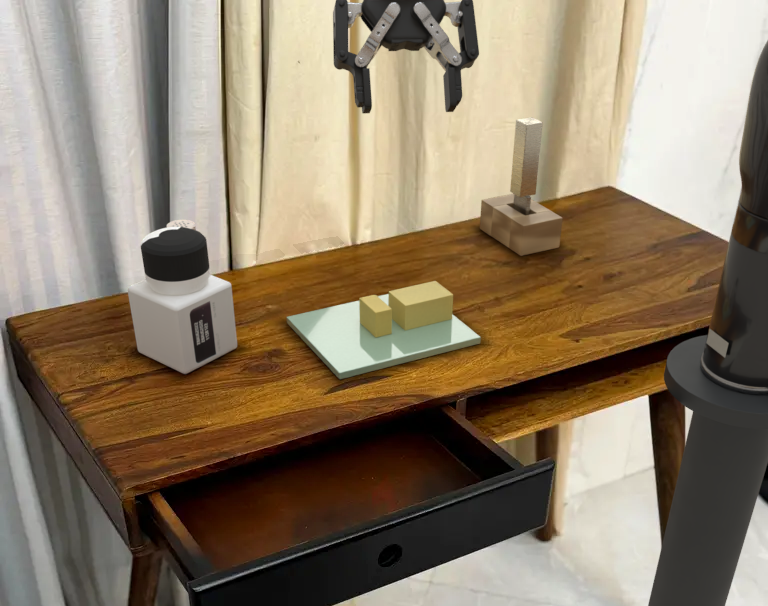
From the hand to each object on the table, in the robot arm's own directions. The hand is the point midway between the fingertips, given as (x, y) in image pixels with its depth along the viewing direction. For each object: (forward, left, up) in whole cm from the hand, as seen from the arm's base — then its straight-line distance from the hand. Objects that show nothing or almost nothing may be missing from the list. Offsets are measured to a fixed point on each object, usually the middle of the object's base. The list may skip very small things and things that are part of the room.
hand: (409, 110), depth 98 cm
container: (+14, +20, -23) cm, 34 cm away
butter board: (0, +4, -23) cm, 23 cm away
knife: (+2, -28, -23) cm, 36 cm away
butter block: (-2, 0, -22) cm, 22 cm away
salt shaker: (+22, +12, -23) cm, 34 cm away
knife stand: (+2, -28, -23) cm, 36 cm away
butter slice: (0, +5, -22) cm, 23 cm away
